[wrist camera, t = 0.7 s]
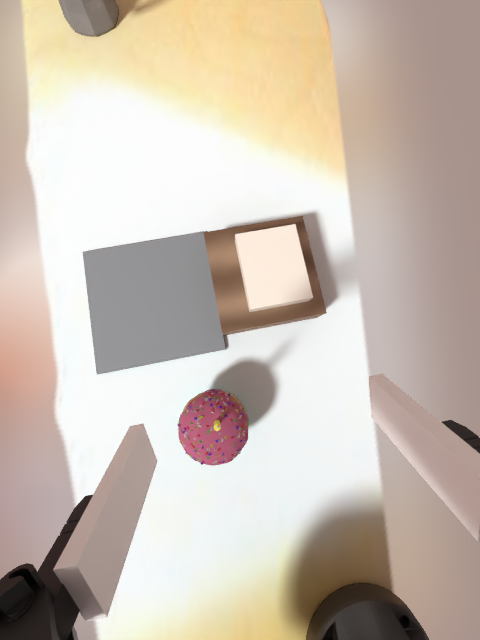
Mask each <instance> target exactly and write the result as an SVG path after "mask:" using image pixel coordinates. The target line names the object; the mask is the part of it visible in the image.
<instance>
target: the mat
mask: <svg viewBox="0 0 480 640" xmlns="http://www.w3.org/2000/svg"><path fill="white" fill-rule="evenodd" d="M83 258H84V267H85V276H86V284H87V293H88V302H89V310H90V319H91V328H92V337H93V345H94V354H95V363H96V371H97V374H102V373H107V372H112V371H117V370H122V369H128V368H133V367H138V366H143V365H148V364H153V363H158V362H163V361H168V360H173V359H178V358H184V357H189V356H194V355H199V354H204V353H209V352H214V351H219V350H224V349H226V348H225V342H224V337H223V334H222V329H221V324H220V318H219V313H218V308H217V302H216V297H215V292H214V286H213V281H212V276H211V270H210V265H209V260H208V254H207V249H206V244H205V238H204V232H199V233H193V234H187V235H181V236H175V237H169V238H163V239H157V240H151V241H145V242H139V243H133V244H127V245H121V246H115V247H109V248H103V249H98V250H92V251H86V252H83Z"/></svg>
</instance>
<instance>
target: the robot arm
mask: <svg viewBox="0 0 480 640" xmlns="http://www.w3.org/2000/svg"><path fill="white" fill-rule="evenodd" d="M369 387H370V403H371V417H372V418H373V419H374V421H375V422H376V423H377V424H378V425H379V426H380V428H381V429H382V430H383V431H384V432H385V433H386V435H387V436H388V437H389V438H390V439H391V440H392V442H393V443H394V444H395V445H396V446H397V448H398V449H399V450H400V451H401V452H402V453H403V455H404V456H405V457H406V458H407V459H408V460H409V462H410V463H411V464H412V465H413V466H414V468H415V469H416V470H417V471H418V472H419V473H420V475H421V476H422V477H423V478H424V479H425V481H426V482H427V483H428V484H429V485H430V486H431V488H432V489H433V490H434V491H435V492H436V493H437V495H438V496H439V497H440V498H441V499H442V501H443V502H444V503H445V504H446V505H447V506H448V508H449V509H450V510H451V511H452V512H453V513H454V515H455V516H456V517H457V518H458V519H459V521H460V522H461V523H462V524H463V525H464V526H465V528H466V529H467V530H468V531H469V532H470V533H471V535H472V536H473V537H474V538H475V539H476V541H477V542H480V438H479V437H478V436H477V435H476V434H474V433H473V432H472V431H470V430H469V429H468V428H467V427H465V426H463V425H460V424H458V423H456V422H454V421H452V420H448V421H444V422H440V421H439V420H438V419H437V418H435V417H434V416H433V415H432V414H430V413H429V412H428V411H427V410H426V409H424V408H423V407H422V406H421V405H419V404H418V403H417V402H416V401H415V400H413V399H412V398H411V397H410V396H409V395H407V394H406V393H405V392H404V391H402V390H401V389H400V388H399V387H398V386H396V385H395V384H394V383H393V382H391V381H390V380H389V379H388V378H387V377H385V376H384V375H383V374H379V375H374V376H370V377H369ZM156 464H157V459H156V456H155V454H154V451H153V448H152V446H151V443H150V441H149V438H148V435H147V433H146V430H145V427H144V425H143V424H139V425H135V426H130V428H129V429H128V431H127V433H126V435H125V437H124V439H123V441H122V442H121V444H120V446H119V448H118V450H117V452H116V454H115V455H114V457H113V459H112V461H111V463H110V465H109V467H108V468H107V470H106V472H105V474H104V476H103V478H102V480H101V482H100V483H99V485H98V487H97V489H96V491H95V493H94V495H89V496H85V497H84V498H83V499H82V501H81V502H80V503H79V504H78V505H77V506H76V507H75V508H74V510H73V512H72V513H71V515H70V517H69V519H68V520H67V524H65V525H64V527H63V529H62V531H61V532H60V536H58V538H57V539H56V541H55V543H54V544H53V546H52V548H51V549H50V551H49V553H48V555H47V556H46V558H45V560H44V562H43V563H42V565H41V567H40V568H39V570H38V572H37V571H36V569H35V568H34V566H33V565H32V564H23V565H20V566H18V567H16V568H15V569H13V570H12V571H10V572H8V573H7V574H6V575H5V576H4V577H3V578H2V579H1V580H0V640H78V638H77V633H76V630H75V628H74V627H73V626H74V623H75V621H76V618H77V615H78V613H79V612H80V613H81V615H82V616H83V618H84V620H85V621H90V620H95V619H100V618H105V617H107V616H108V613H109V609H110V606H111V603H112V600H113V597H114V594H115V591H116V588H117V585H118V582H119V578H120V575H121V572H122V569H123V566H124V563H125V560H126V557H127V554H128V551H129V547H130V544H131V541H132V538H133V535H134V532H135V529H136V526H137V523H138V520H139V516H140V513H141V510H142V507H143V504H144V501H145V498H146V495H147V492H148V489H149V486H150V482H151V479H152V476H153V473H154V470H155V467H156ZM306 640H429V638H428V636H427V635H426V633H425V631H424V629H423V628H422V626H421V625H420V623H419V622H418V621H417V619H416V618H415V616H414V615H413V613H412V612H411V611H410V609H409V608H408V607H407V605H406V604H405V603H404V602H403V601H402V600H401V599H400V598H399V597H397V596H396V595H395V594H393V593H392V592H390V591H389V590H387V589H385V588H382V587H380V586H376V585H372V584H353V585H349V586H346V587H343V588H341V589H339V590H337V591H335V592H334V593H333V594H331V595H330V596H329V597H328V598H326V599H325V600H324V601H323V603H322V604H321V605H320V606H319V608H318V609H317V611H316V612H315V614H314V616H313V618H312V620H311V622H310V625H309V628H308V632H307V636H306Z"/></svg>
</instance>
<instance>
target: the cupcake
mask: <svg viewBox="0 0 480 640" xmlns="http://www.w3.org/2000/svg"><path fill="white" fill-rule="evenodd" d="M178 426H179V439H180V443H181V444H182V446H183V448H184V450H185V451H186V453H187V454H188V455H189V456H190V457H192V459H194V460H195V461H198V462H200V463H201V464H207V465H220V464H224V463H228V462H230V461H232V460H233V459H234V458H235V457H236V456H237V455H238V454H240V453H239V452H240V451H241V450H242V448H243V447H244V445H245V444H246V442H247V440H248V417H247V414H246V411H245V409H244V407H243V405H242V403H241V402H240V401H239V400H238V399H237V398H236V397H235V396H234V395H232V394H230V393H227V392H224V391H222V390H219V389H210V390H207V391H205V392H203V393H200V394H198V395H197V396H196V397H194V398H193V399H191V400H190V401H189V402H188V403H187V405H186V406H185V408H184V410H183V412H182V414H181V415H180V418H179V425H178Z"/></svg>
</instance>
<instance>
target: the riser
mask: <svg viewBox="0 0 480 640" xmlns="http://www.w3.org/2000/svg"><path fill="white" fill-rule="evenodd" d="M293 224H295V225H296V229H297V233H298V237H299V241H300V245H301V249H302V253H303V258H304V262H305V266H306V270H307V274H308V278H309V282H310V286H311V291H312V295H313V298H312V299H311V300H309V301H306V302H301V303H296V304H291V305H285V306H280V307H275V308H269V309H264V310H259V311H253V312H249V307H248V303H247V298H246V293H245V288H244V283H243V278H242V273H241V268H240V263H239V259H238V254H237V249H236V244H235V234H240V233H246V232H251V231H257V230H263V229H269V228H275V227H281V226H287V225H293ZM204 238H205V244H206V249H207V254H208V260H209V265H210V270H211V276H212V281H213V286H214V292H215V297H216V302H217V308H218V313H219V318H220V324H221V329H222V334H223V336H224V335H229V334H234V333H239V332H244V331H249V330H255V329H260V328H265V327H270V326H275V325H281V324H286V323H291V322H296V321H301V320H307V319H312V318H317V317H319V316H321V315H323V314H325V313H326V309H325V305H324V301H323V297H322V293H321V289H320V285H319V281H318V277H317V273H316V269H315V265H314V261H313V257H312V253H311V249H310V245H309V240H308V236H307V232H306V228H305V224H304V220H303V216H300V217H294V218H288V219H282V220H276V221H270V222H264V223H258V224H252V225H246V226H240V227H234V228H228V229H222V230H216V231H210V232H204Z"/></svg>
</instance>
